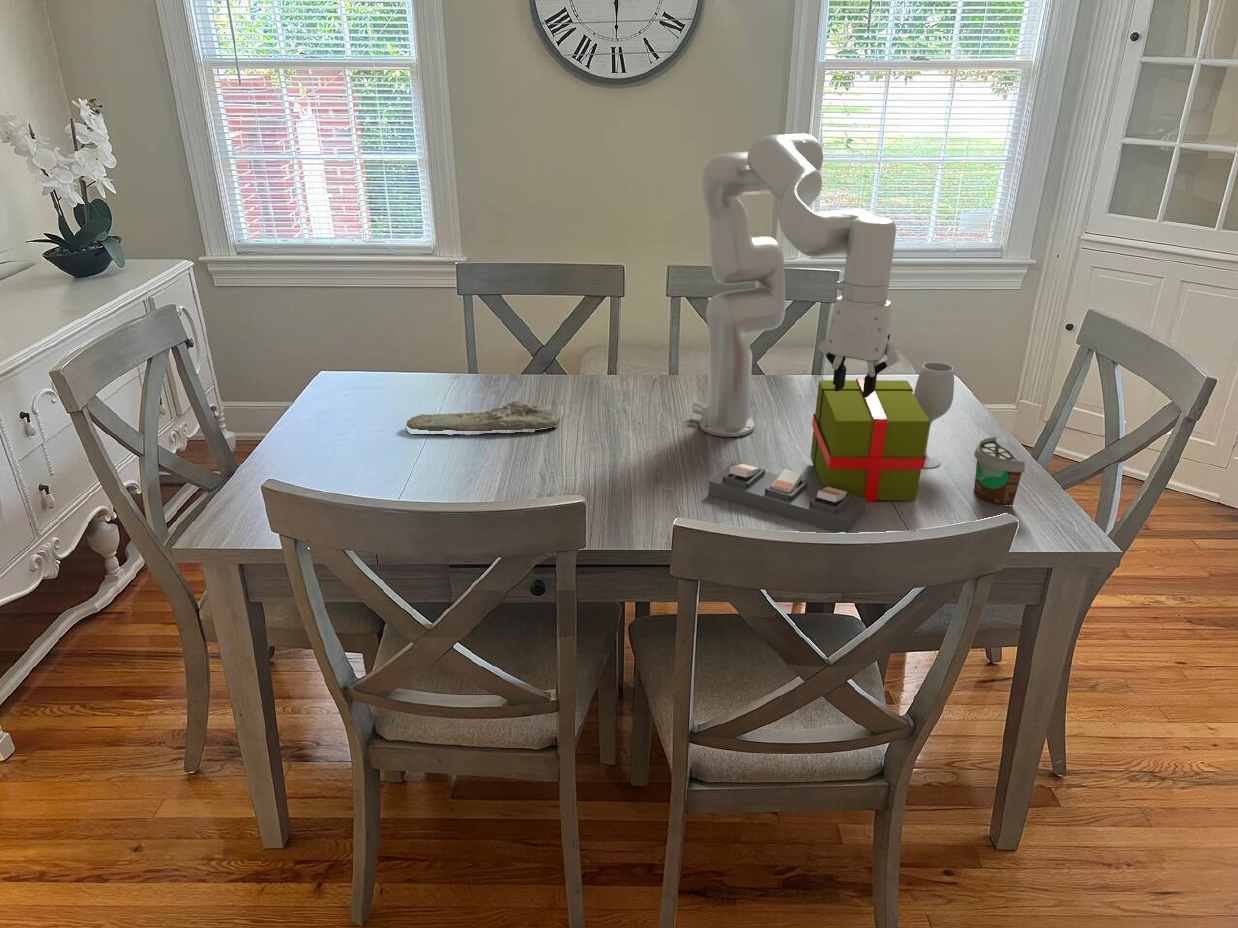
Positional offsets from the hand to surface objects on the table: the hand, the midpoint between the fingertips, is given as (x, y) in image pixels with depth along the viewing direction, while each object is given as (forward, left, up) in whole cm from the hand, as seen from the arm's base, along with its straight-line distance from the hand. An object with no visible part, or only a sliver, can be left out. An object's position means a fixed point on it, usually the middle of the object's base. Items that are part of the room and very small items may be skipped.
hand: (853, 391), depth 159 cm
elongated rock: (-82, -10, -24) cm, 86 cm away
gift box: (-2, +14, -24) cm, 28 cm away
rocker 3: (0, -5, -19) cm, 19 cm away
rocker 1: (-18, -5, -19) cm, 26 cm away
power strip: (-9, -5, -23) cm, 26 cm away
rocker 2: (-9, -5, -19) cm, 21 cm away
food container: (+22, +20, -24) cm, 38 cm away
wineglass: (+7, +29, -24) cm, 38 cm away
